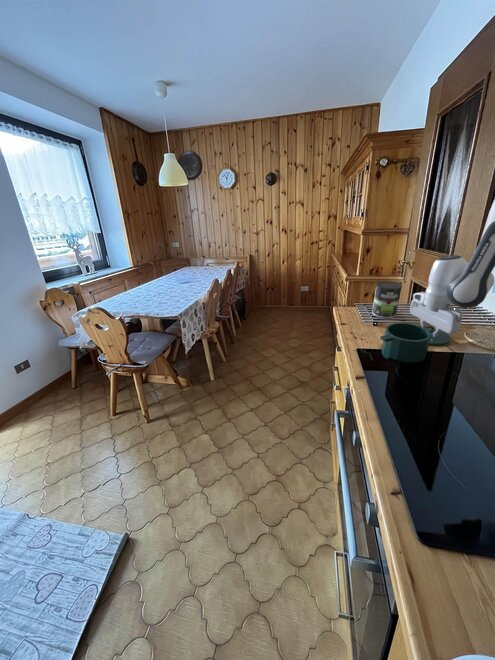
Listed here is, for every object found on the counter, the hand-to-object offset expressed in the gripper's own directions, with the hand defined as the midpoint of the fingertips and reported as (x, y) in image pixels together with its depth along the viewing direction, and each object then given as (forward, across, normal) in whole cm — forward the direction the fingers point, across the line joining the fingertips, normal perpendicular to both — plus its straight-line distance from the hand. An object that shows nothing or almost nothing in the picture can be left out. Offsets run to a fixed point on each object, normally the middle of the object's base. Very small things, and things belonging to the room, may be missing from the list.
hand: (429, 333), depth 110 cm
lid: (+1, 0, 0) cm, 1 cm away
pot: (+1, -8, +18) cm, 20 cm away
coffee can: (+2, +24, +2) cm, 24 cm away
